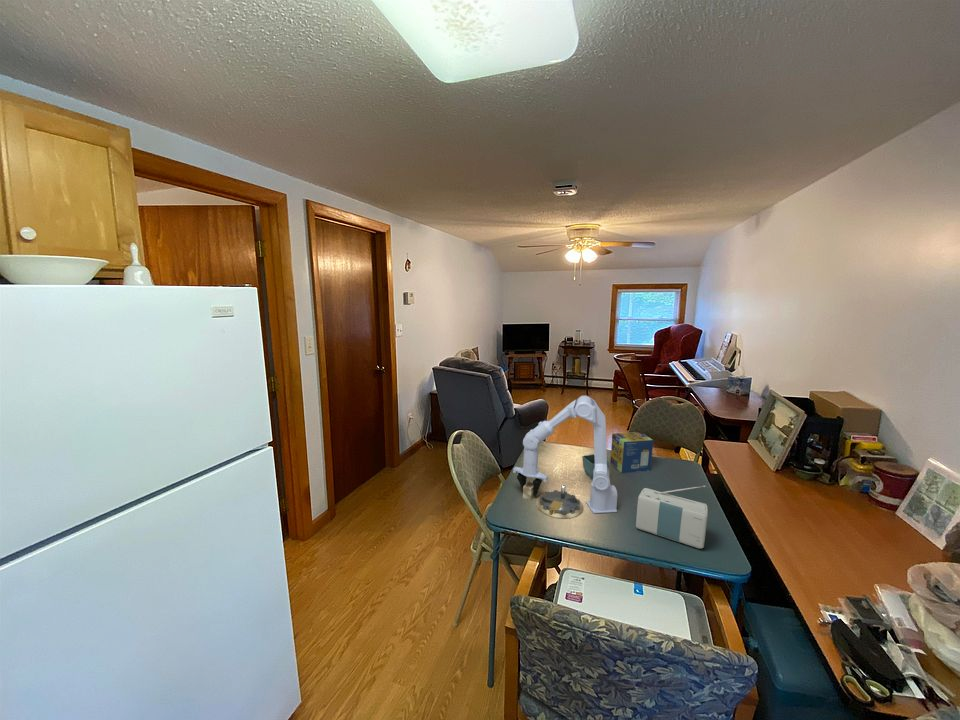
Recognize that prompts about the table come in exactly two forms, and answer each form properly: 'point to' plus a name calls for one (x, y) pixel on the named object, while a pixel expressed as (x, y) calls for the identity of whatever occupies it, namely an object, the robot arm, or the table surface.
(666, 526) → the stereo radio cassette player
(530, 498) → the link block
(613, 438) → the protein box
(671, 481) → the table surface
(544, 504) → the sprocket
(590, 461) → the flower pot
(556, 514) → the sprocket base
